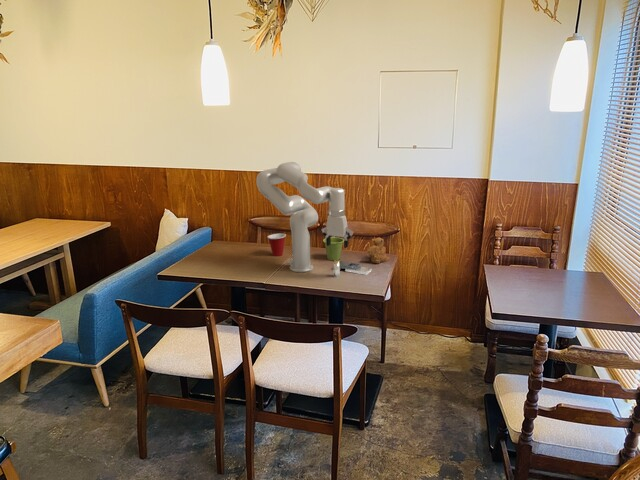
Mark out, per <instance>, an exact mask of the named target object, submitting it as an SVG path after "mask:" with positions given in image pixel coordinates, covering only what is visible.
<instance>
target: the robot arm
mask: <svg viewBox="0 0 640 480" xmlns="http://www.w3.org/2000/svg"><path fill="white" fill-rule="evenodd" d="M308 180H309V176H308V174H307V173H305V172H303V171H302V167H301V165H300V164H299V163H297V162H296V161H289V162H283V163H281V164H279V165H278V166H277V167H274V168H269V169H264V170H262V171H260V172H259V173H258V174H257V175H256V181H255V182H256V186H257V189H258V191H259V192H260V194H261V195H262V196H263V197H265V198H266V199H267V200H269V202H271V204H273V206H274V207H275V208H276V209H277V210H278V211H279V212H280V213H281V214H282V215H284V216H290V217H289V226H290V233H291V249H292V252H291V253H292V255H291V256H292V257H291V258H287V259H286V264H290V266H289V270H290V271H292V272H294V273H295V272H296V273H307V272H310V271H312V270H314V265H313V264H311V236H310V232H309V230H308V228H309V227H312V226H314V225H315V224H317V223H318V221H319V213H318V212H317V211H316V208H314V207H313V206H312V205H311V204H310V203H313V204H315V205H320V204H323V203H327V202H329V204H328V205H329V209H327V212H326V213H327V214H328V216H327V219H326V227H322V228H321V232H322V234H323V236H324V237H325V238H326V244H327V246H329V245H331V237H338V238H343V239H344V242H343V248H344V249H347V248H348V247H349V246H350V244H349V243H350V242H349V241H350V239H351V238H352V237H353V235H354V231H353V230H352V229H350V228H348V221H347V216H346V215H345V211H346V209H345V208H346V207H345V199H346V198H345V190H344V188H341V187H333V186H329V185H327V186H322V187H318V188H316V187H314V186H312V185H310V184H309V183H308ZM284 182H285V183H287V184H289V185H291V186H293V187H294V188H296V189H297V191H298V192H299V194H300V195H301V196H300V195H298V194H294V195H287V194H286V193H285V192H284V191H283V190H282V189H281V188H279V187H277V186H275V185H278V184H282V183H284ZM308 201H309V202H310V203H309V202H308ZM348 233H349V235H348ZM325 238H324V239H325Z"/></svg>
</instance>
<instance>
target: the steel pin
mask: <svg viewBox="0 0 640 480" xmlns="http://www.w3.org/2000/svg"><path fill="white" fill-rule="evenodd" d="M340 261H341V260H335V261H333V277H334V278H339V277H340V276H341V275H340V274H341V271H340V270H341V269H340Z"/></svg>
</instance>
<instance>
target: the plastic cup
mask: <svg viewBox="0 0 640 480" xmlns="http://www.w3.org/2000/svg"><path fill="white" fill-rule="evenodd" d="M286 236H287V234H286V233H273V234H269V235H267V239H268V240H269V245H270V249H271V253H272V254H271V255H272V256H273V257H282V256H283V254H284V247H285V241H286Z"/></svg>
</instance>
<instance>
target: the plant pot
mask: <svg viewBox="0 0 640 480" xmlns="http://www.w3.org/2000/svg"><path fill="white" fill-rule="evenodd" d="M330 237H331V245H329V246H327V244H326V238H323V240H322V242H324V243H323V244H324V246H325V251H326V256H327V257H326V258H327V260H329V261H333V262H334V261H335V260H338V261H340V259H341V255H342V248H343V246H344V240H345V239H344V238H343V237H337V236H330Z"/></svg>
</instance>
